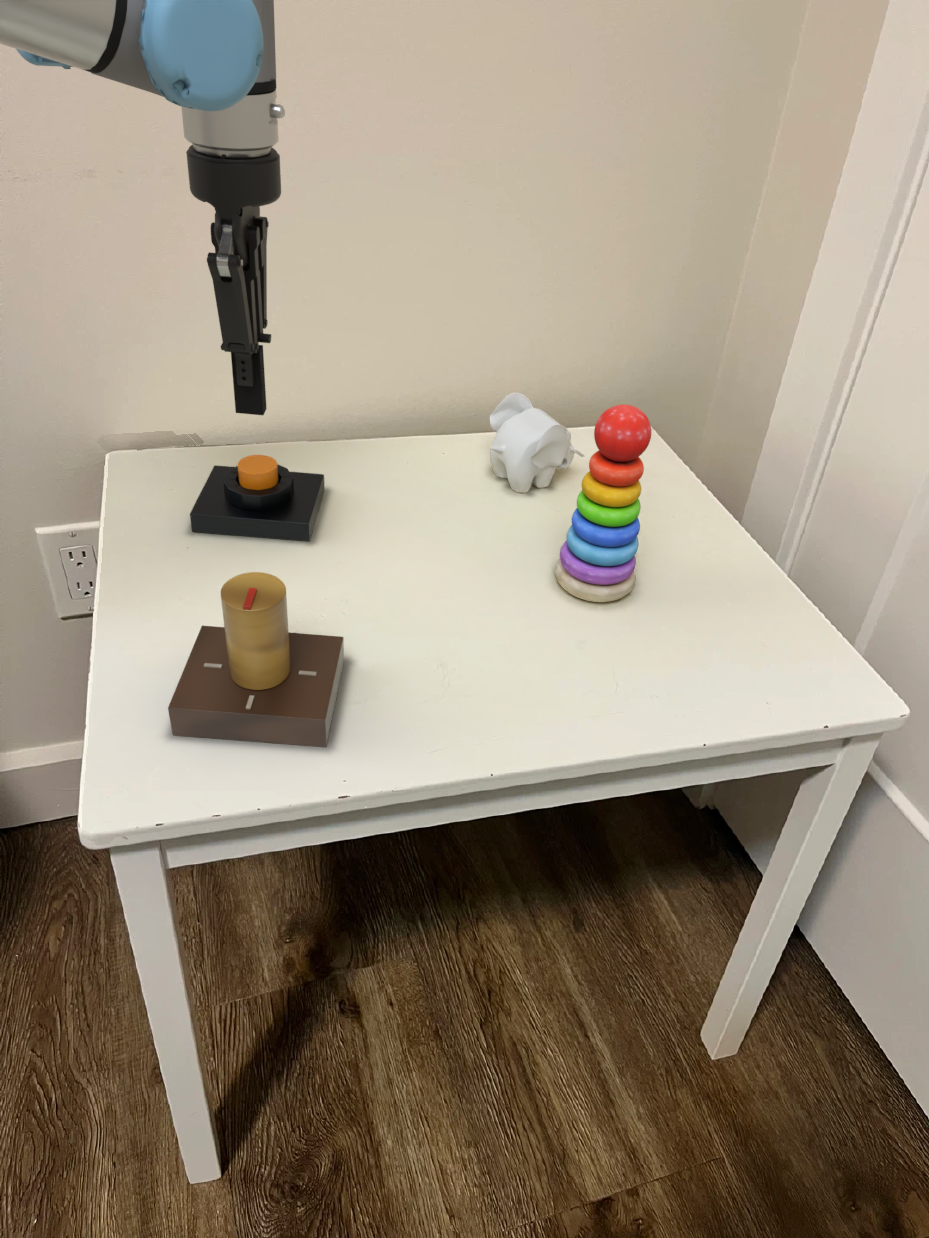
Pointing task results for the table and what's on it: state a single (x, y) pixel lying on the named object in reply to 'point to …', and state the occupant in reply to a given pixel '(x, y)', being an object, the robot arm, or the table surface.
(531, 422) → the elephant figurine
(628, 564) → the stacking toy
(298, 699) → the plate
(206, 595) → the table surface
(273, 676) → the lock knob
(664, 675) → the table surface
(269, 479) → the bell button
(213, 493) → the block
